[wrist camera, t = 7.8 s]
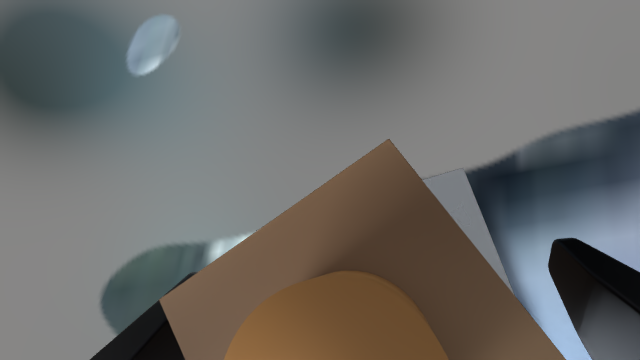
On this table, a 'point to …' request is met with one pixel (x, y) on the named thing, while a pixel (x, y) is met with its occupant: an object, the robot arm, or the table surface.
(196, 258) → the table surface
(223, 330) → the point post
